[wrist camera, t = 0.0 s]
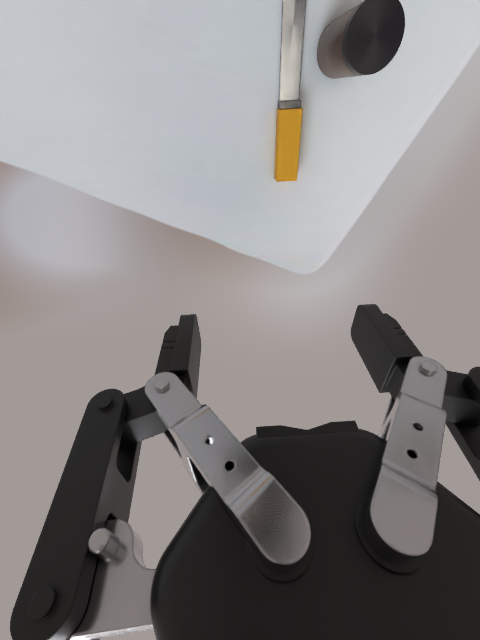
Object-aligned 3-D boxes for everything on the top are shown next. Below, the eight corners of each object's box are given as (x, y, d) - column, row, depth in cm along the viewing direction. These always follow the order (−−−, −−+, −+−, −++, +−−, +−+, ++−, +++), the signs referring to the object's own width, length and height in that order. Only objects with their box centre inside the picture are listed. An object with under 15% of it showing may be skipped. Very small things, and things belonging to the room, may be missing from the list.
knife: (283, -76, 24) (286, -86, 23) (313, -78, 24) (318, -88, 23) (274, 178, 37) (276, 181, 35) (294, 177, 37) (296, 180, 35)
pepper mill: (320, 18, 28) (352, -6, 21) (366, 15, 28) (413, -9, 21) (314, 79, 31) (340, 76, 24) (355, 77, 31) (394, 73, 24)
